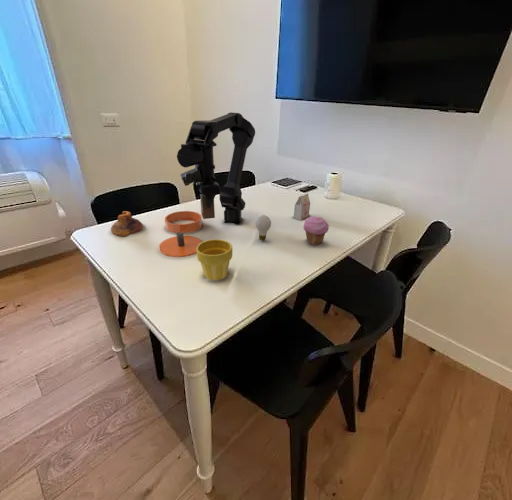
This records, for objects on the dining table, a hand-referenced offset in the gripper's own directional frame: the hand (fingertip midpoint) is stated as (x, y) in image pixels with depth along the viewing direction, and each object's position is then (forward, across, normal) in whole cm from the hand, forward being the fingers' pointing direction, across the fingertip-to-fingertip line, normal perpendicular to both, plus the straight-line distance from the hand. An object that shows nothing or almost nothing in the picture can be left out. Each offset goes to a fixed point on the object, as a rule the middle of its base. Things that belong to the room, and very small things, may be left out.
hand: (207, 205), depth 109 cm
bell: (+13, -14, -30) cm, 35 cm away
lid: (+12, +6, -11) cm, 18 cm away
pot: (+12, -11, -8) cm, 19 cm away
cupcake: (+13, +16, +36) cm, 42 cm away
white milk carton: (+13, -8, +43) cm, 45 cm away
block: (+4, 0, 0) cm, 4 cm away
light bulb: (+13, +9, +18) cm, 24 cm away
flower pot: (+13, +27, -3) cm, 30 cm away
